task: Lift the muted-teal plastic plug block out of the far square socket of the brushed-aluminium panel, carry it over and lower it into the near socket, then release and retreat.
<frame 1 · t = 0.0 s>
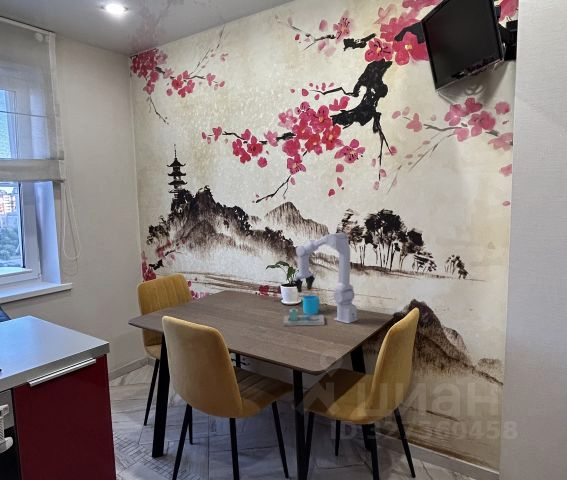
hand: (304, 291, 221), 10 cm above the table, fingers open, 7 cm apart
panel: (303, 321, 200), on the table
plug: (293, 321, 201), resting in panel
mug: (312, 311, 218), on the table
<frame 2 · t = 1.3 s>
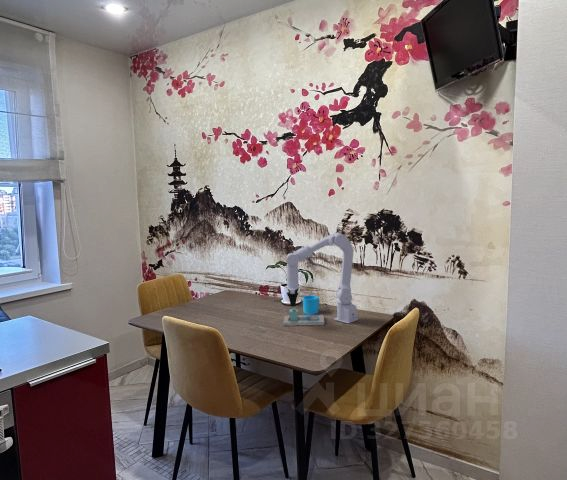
hand: (293, 304, 200), 9 cm above the table, fingers open, 7 cm apart
nothing on the table moved.
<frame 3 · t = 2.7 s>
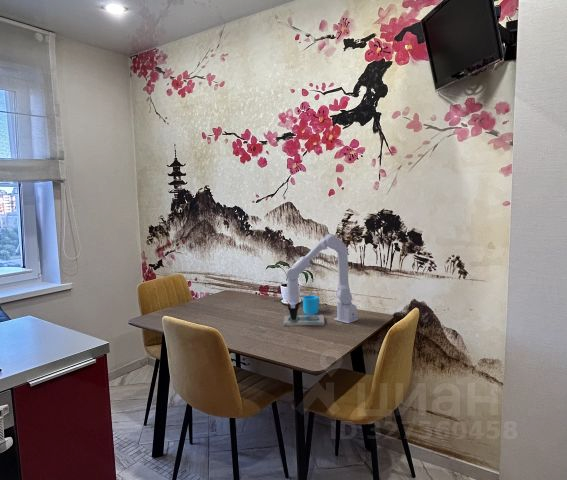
hand: (293, 318, 200), 2 cm above the table, fingers closed on plug, 4 cm apart
plug: (293, 321, 201), resting in panel, touching gripper
everything else where it was.
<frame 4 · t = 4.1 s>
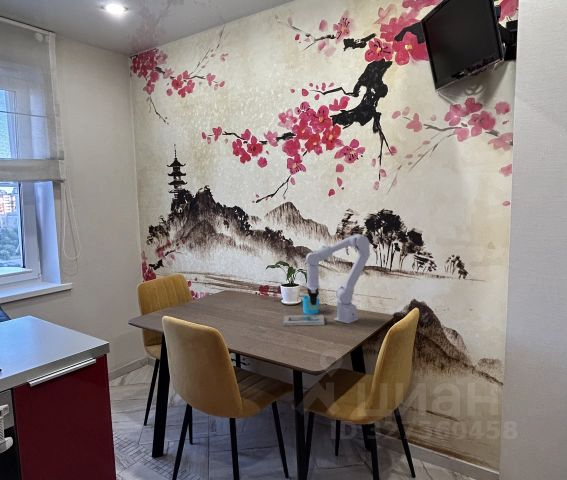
hand: (313, 303, 199), 9 cm above the table, fingers closed on plug, 4 cm apart
plug: (312, 308, 199), point 7 cm above the table, touching gripper
everything else where it was.
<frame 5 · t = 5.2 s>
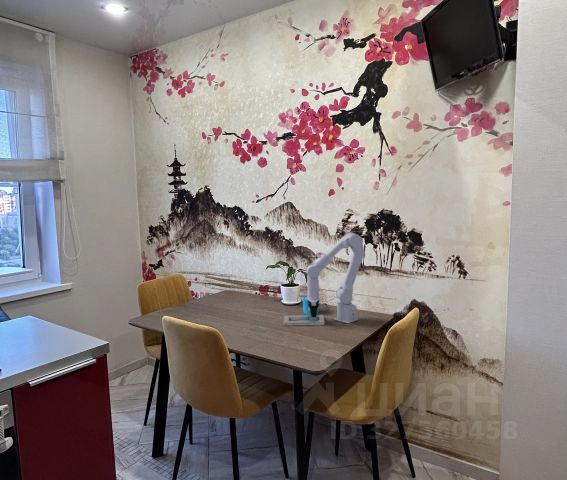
hand: (313, 315, 200), 3 cm above the table, fingers closed on plug, 4 cm apart
plug: (312, 320, 200), point 1 cm above the table, touching gripper
everything else where it was.
when the fingers open (3 cm above the table, at t = 6.0 s): plug stays where it is, resting in panel.
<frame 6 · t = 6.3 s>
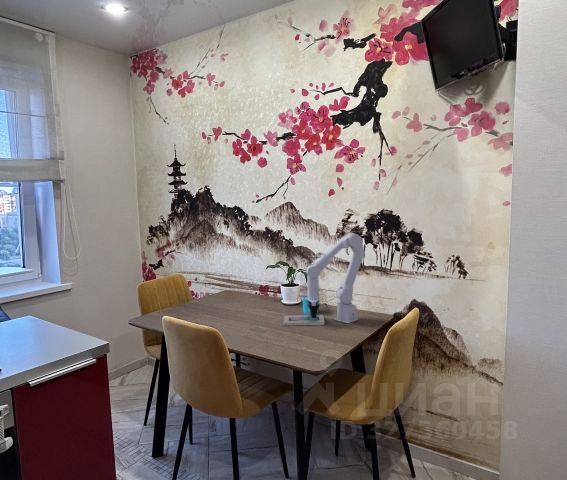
hand: (313, 315, 200), 3 cm above the table, fingers open, 6 cm apart
plug: (313, 321, 200), resting in panel
everything else where it was.
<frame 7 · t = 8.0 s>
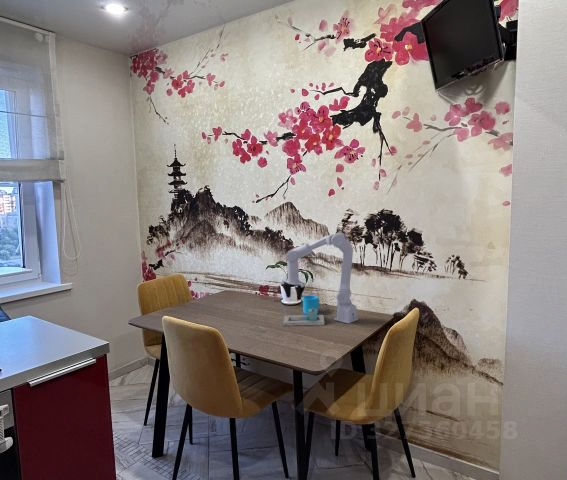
hand: (293, 298, 207), 10 cm above the table, fingers open, 7 cm apart
nothing on the table moved.
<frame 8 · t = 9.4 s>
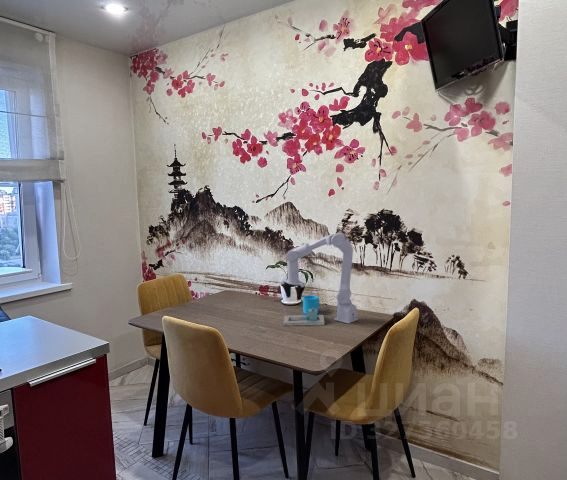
hand: (293, 298, 207), 10 cm above the table, fingers open, 7 cm apart
nothing on the table moved.
at the end: plug 0.4 cm from the target spot on the panel, point 0.0 cm above the panel's base; plug tilted 0°; the gripper is holding nothing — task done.
